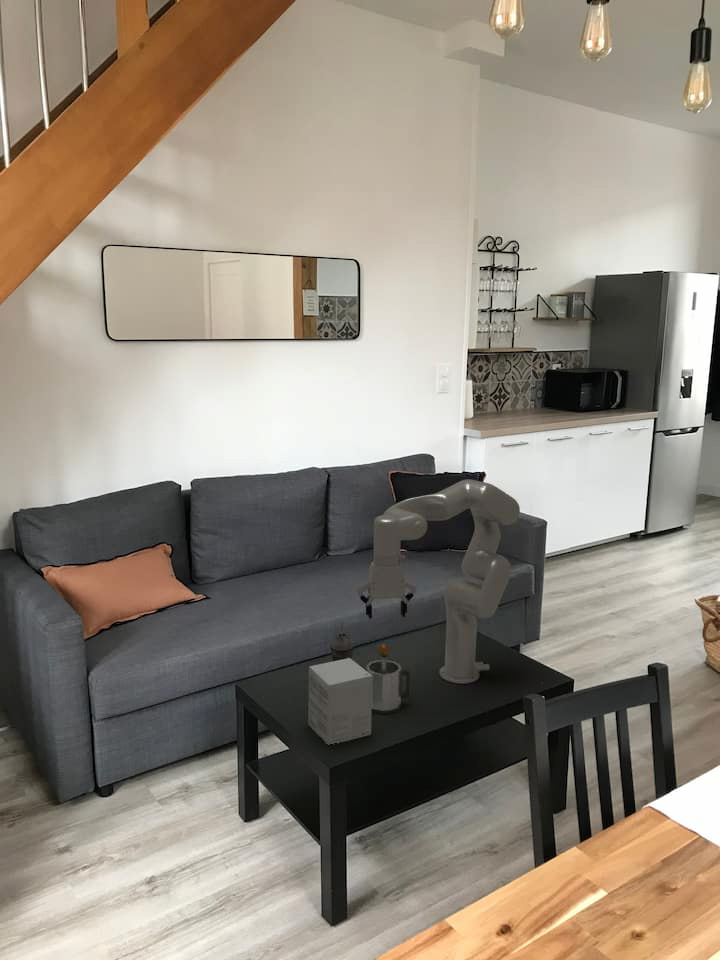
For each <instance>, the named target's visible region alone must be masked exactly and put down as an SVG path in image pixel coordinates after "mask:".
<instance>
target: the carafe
mask: <svg viewBox="0 0 720 960" xmlns="http://www.w3.org/2000/svg"><path fill="white" fill-rule="evenodd" d="M365 670H366V671H367V672H368V673H369V674H370V675H372V707H371V713H374V714H378V715H391V714H394V713H396V712H398V711H400V709H401V707H402V706H401V705H402V703H401V701H402V699H405V698H406V699H407V698H410V683H411V681H410V680H411V678H410V677H411V673H410V670H409V669H402V667H401V664H400V663H397V662H396V661H393V660H387V659H386V674H382V659H379V660H374V661H370V662H368V664H367V665H366V666H365ZM402 677H403V678H404V682H403V684H404V685H403V691H402Z"/></svg>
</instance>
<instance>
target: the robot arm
mask: <svg viewBox="0 0 720 960" xmlns="http://www.w3.org/2000/svg"><path fill="white" fill-rule="evenodd" d="M520 508H521V507H520V505H519V502H518V501H517V500H516V499H515V498H514V497H513V496H511V495H509V494H508V493H506V492H505V491H504V490H502V489H500V488H499V487H497V486H495V485H494V484H492V483H489V482H486V481H485V482H484V481H480V480H475V479H470V478H469V479H462V480H460V481H458V482H456V483H454V484H452V485H451V486H448V487H446V488H444V489H442V490H439V491H438V492H436V493H433V494H426V495H421V496H416V497H411V498H407V499H403V500H402V501H399V502H397V503H395V504H393V505H392V506H390V507H388V508H387V509H386V510H385V511H384V512H383V513H382V515H378V516H376V517H375V518H374V519H373V520H374V521H373V561H372V562H371V563H370V566H369V569H368V572H369V573H368V579H367V583H365V584H364V585H362V586H360V587H358V588H357V589H356V590H355V591H356V594H357V596H358V597H359V599H360V601H361V602H363V603H364V604H365V615H366V616H367V617H368V619H369V620H372V619H373V605H372V603H373V602H374V601H375V600H388V599H400V600H401V601H400V615H401V616H402V617H403V618H405V617H406V614H407V613H408V604H409V602H410V600H411V599H412V598H413V597H414V595H415V593H416V592H417V590H418V589H417V587H416V585H413V584H411V583H409V582H407V581H405V573H404V570H405V569H404V565H403V562H402V560H406V554H403V553H401V541H413V540H418V539H420V538H422V537H424V535H425V534H426V533H427V530H428V521H431V522H432V521H434V522H436V521H437V522H438V521H447V520H450V519H451V518H453V517H455V516H457V515H459V514H461V513H463V512H464V511H466V510H469V509H470V511H471V514H472V515H471V516H472V518H473V523H474V531H473V534H472V538H471V541H470V542H469V545H468V548H467V550H466V552H465V554H464V557H463V560H462V562H461V572H463V574H464V575H466V576H467V577H469V578H470V579H471V578H472V579H473V580H474V579H475V580H477V581H479V582H482V584H477V583H475V582H472V581H469V580H466V579H461V578H456V579H452V580H450V581H449V582H448V583H447V585H446V587H445V589H444V604H445V610H446V626H445V627H446V629H445V648H444V649H445V650H444V651H445V653H444V665H443V666H442V667H441V668H439V676H440V677H441V678H442V679H443V680H445V681H446V682H450V683H453V684H465V685H466V684H470V683H474V682H476V681H477V680H479V678H480V672H481V671H490V670H491V669H490V664H489V663H487V664H486V663H485V664H484V661H478V662H477V661H476V650H477V649H476V648H477V630H478V628H477V627H478V623H477V618H479V619H483V620H486V619H489V618H492V616H493V615H494V614H495V613H496V610H497V608H498V607H499V604H500V602H501V600H502V598H503V594H504V592H505V590H506V587H507V584H508V582H509V579H510V577H511V570H512V568H511V564H510V561H509V560H508V558H506V557H505V556H503V555H501V554H498V553H496V552H497V550H498V547H499V545H500V542H501V541H500V540H501V530H500V527H499V524H500V525H505V526H508V525H513V524H514V523H515V522H516V521H517V520H518V518H519V517H520V513H521V509H520ZM406 588H407V589H408V590H409V592H408V593H407V594H406ZM366 591H367V592H368V595H367V596H365V595H364V594H363V593H364V592H366ZM405 594H406V595H405Z"/></svg>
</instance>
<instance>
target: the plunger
mask: <svg viewBox="0 0 720 960" xmlns="http://www.w3.org/2000/svg"><path fill="white" fill-rule="evenodd" d="M376 652H377V655H379V657H381V660H382V674H386V660H387V657H389V656H390V655H391V653H392V647H391V645H390V644H388V643H385V642H383V643H380V644H379V645H378V647H377V651H376Z"/></svg>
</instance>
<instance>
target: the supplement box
mask: <svg viewBox="0 0 720 960" xmlns="http://www.w3.org/2000/svg"><path fill="white" fill-rule="evenodd" d="M371 707H372V675H370V674H369V673H368V672H367V671H366V669H365V668H363V667H362V666H360V665H359V663H357V662H356V661H354V660H353V659H352V658H351V659H350V658H347V659H343V660H338V661H333V660H332V661H329V662H325V663H324V662H323V663H319V664H315V665H311V666H310V665H309V666H308V714H307V715H308V723H307V724H308V726H309V727H310V728H311V729H312V730H313V731H314V732H315V733H316V735H317V736H318V737H321V738H322V739H323V740H324V741H325V742H326V743H325V742H324V741H323V740H322V739H321V738H320V739H321V740H322V741H323V742H324V743H325V744H326V745H327V744H328V745H330V744H333V745H335V744H334V743H337V744H341V743H345V742H349V741H352V740H355V739H359V738H363V737H367V736H371V734H372V712H371ZM340 742H341V743H340ZM328 745H327V746H328ZM330 746H331V745H330Z"/></svg>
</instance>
